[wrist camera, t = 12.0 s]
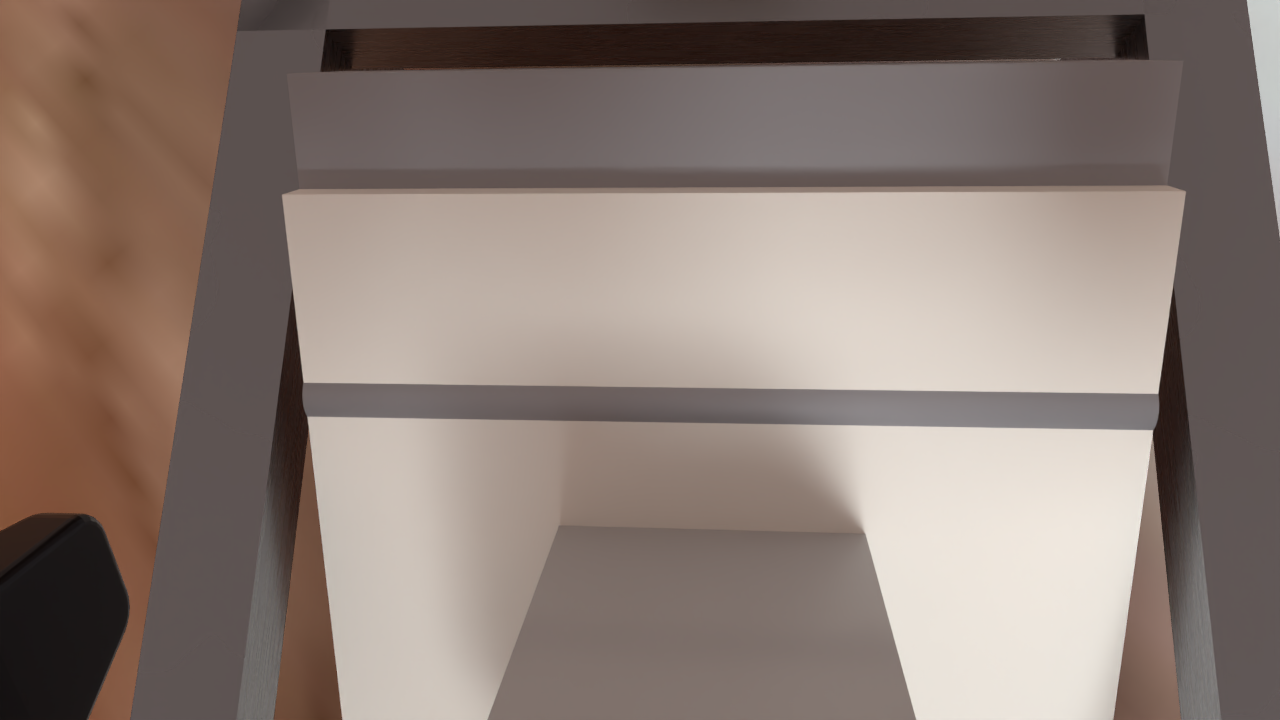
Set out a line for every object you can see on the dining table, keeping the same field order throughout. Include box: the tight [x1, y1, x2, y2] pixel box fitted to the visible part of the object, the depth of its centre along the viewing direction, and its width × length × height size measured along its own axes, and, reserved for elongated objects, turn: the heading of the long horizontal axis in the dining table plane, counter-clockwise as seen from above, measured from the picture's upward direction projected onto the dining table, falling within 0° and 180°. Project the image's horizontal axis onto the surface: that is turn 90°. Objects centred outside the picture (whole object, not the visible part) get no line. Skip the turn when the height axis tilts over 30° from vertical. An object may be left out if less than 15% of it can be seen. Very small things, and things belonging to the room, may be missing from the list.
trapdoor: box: [282, 60, 1186, 720], centre depth 16 cm, size 12×12×3 cm
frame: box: [130, 0, 1280, 720], centre depth 18 cm, size 18×16×7 cm
